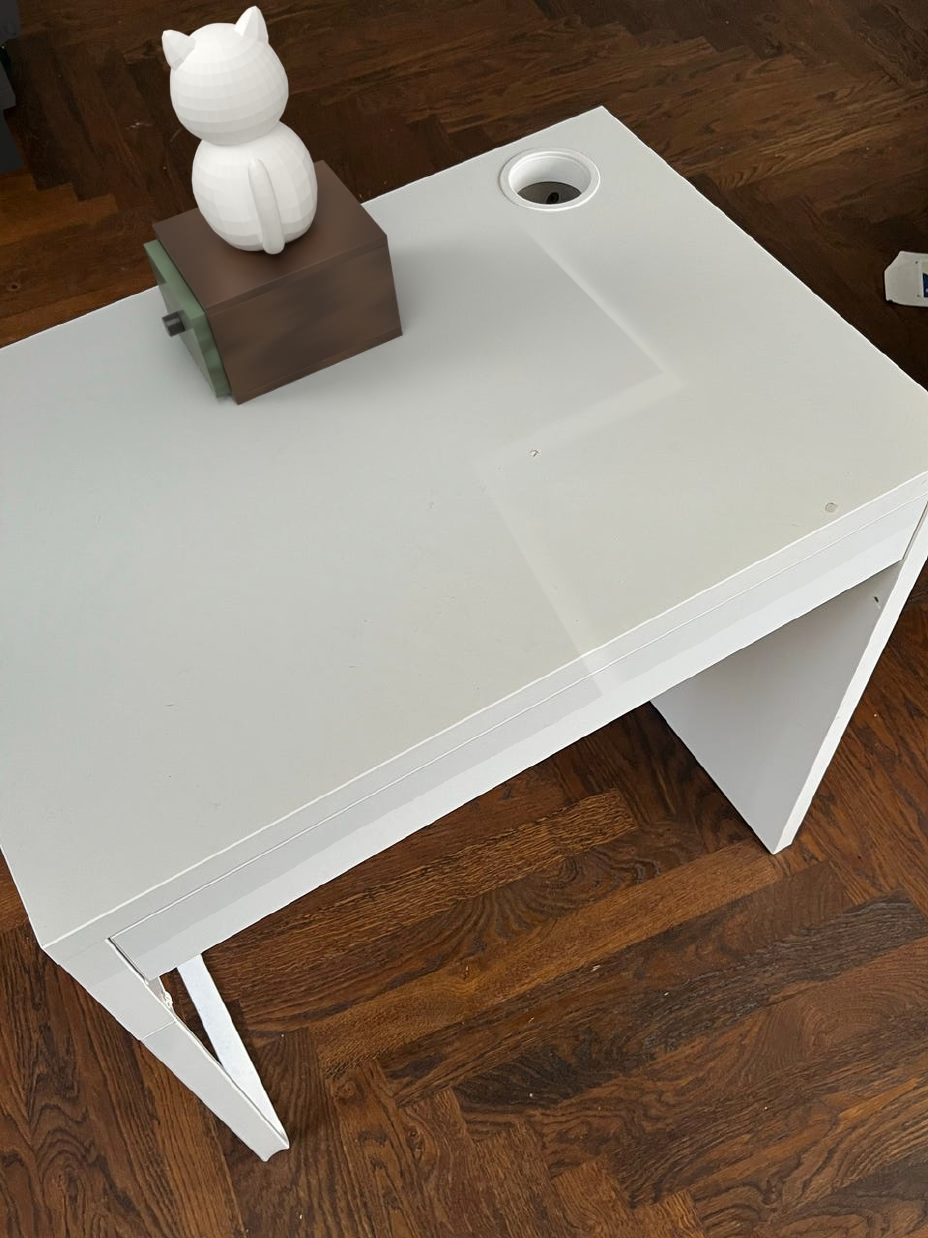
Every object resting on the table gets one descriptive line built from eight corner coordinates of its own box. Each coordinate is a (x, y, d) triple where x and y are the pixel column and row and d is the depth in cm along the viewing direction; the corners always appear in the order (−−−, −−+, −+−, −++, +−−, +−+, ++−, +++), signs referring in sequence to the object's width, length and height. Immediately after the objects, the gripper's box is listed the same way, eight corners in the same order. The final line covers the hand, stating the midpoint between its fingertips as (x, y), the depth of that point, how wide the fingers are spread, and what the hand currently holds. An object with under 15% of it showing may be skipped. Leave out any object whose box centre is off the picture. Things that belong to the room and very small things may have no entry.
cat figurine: (301, 169, 91) (258, -27, 79) (350, 259, 84) (312, 60, 72) (192, 202, 89) (131, 8, 77) (233, 296, 82) (173, 99, 70)
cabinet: (237, 405, 90) (205, 307, 82) (186, 322, 96) (151, 224, 88) (403, 334, 93) (387, 234, 85) (342, 258, 99) (322, 158, 91)
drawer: (203, 404, 89) (174, 325, 83) (158, 328, 94) (128, 249, 88) (372, 332, 92) (357, 251, 86) (319, 263, 98) (302, 182, 91)
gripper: (-337, -241, 49) (-81, 227, 69) (-42, -318, 52) (124, 152, 71) (-354, -289, 53) (-107, 166, 73) (-79, -358, 56) (88, 97, 75)
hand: (7, 159), depth 72 cm, fingers closed
